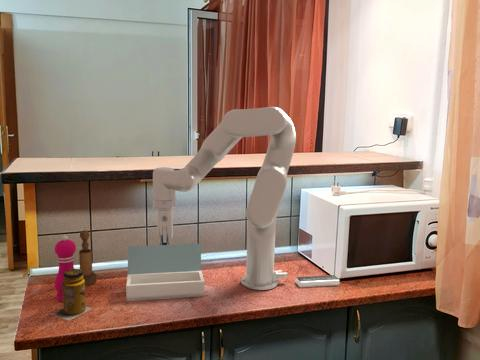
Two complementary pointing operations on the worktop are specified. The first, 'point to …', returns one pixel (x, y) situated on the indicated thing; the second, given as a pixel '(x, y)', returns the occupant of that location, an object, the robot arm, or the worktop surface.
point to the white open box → (164, 285)
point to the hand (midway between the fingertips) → (164, 254)
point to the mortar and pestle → (86, 260)
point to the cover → (164, 258)
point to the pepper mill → (63, 262)
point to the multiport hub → (317, 281)
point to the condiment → (72, 295)
